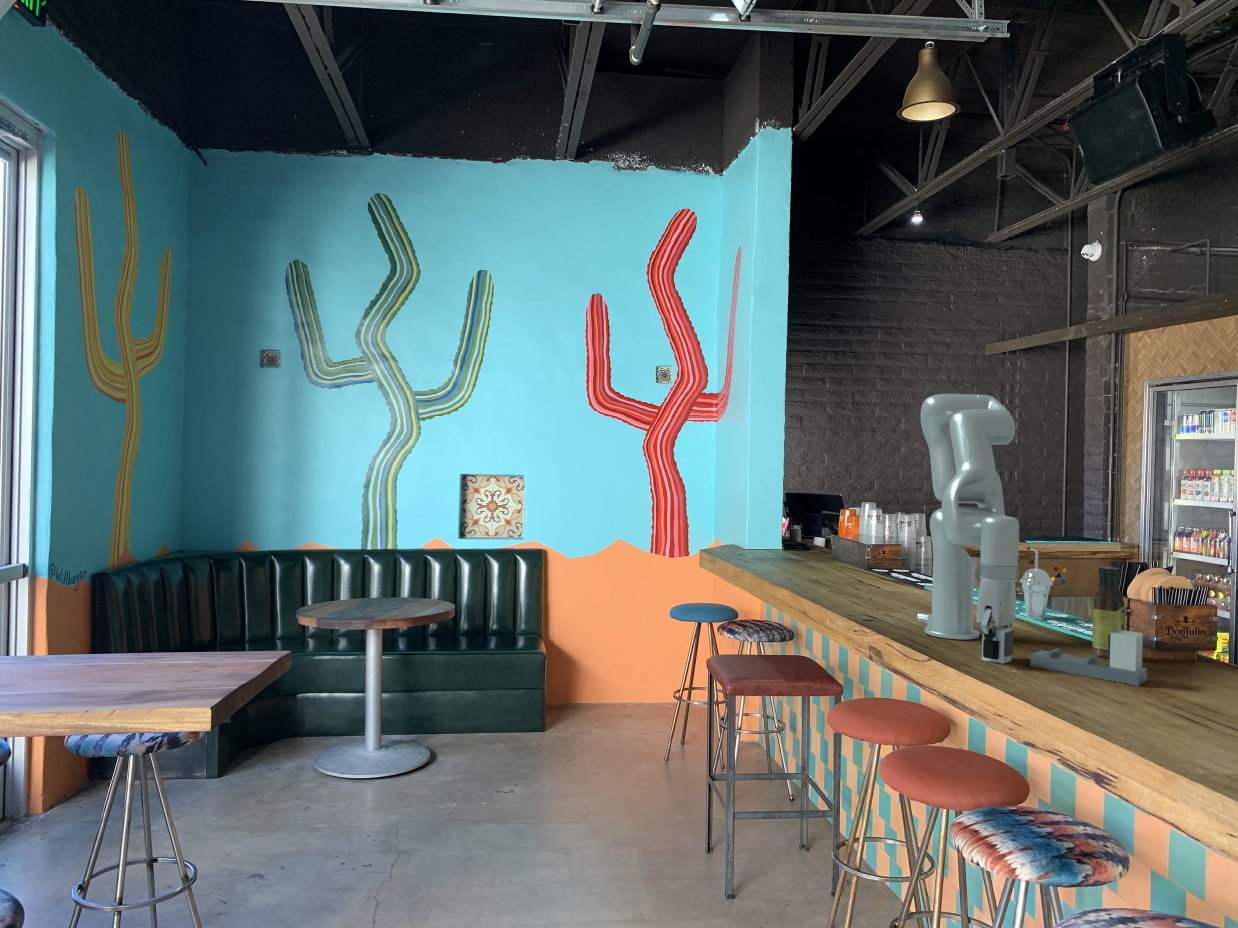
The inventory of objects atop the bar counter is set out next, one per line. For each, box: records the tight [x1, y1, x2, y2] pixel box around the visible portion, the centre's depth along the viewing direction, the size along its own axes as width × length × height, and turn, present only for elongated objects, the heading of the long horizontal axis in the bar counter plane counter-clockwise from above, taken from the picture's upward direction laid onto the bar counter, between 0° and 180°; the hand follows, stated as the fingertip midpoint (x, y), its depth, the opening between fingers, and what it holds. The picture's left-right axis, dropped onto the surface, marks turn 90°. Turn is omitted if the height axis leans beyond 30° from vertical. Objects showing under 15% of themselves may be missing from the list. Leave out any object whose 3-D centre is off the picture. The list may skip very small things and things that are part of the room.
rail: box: [1029, 630, 1148, 687], centre depth 172 cm, size 20×6×10 cm, turn 44°
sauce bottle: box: [1092, 566, 1126, 659], centre depth 188 cm, size 7×6×20 cm
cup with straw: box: [1018, 547, 1054, 621], centre depth 232 cm, size 8×9×20 cm
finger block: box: [981, 627, 1015, 665], centre depth 182 cm, size 5×4×7 cm
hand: (996, 655), depth 182 cm, fingers open, 5 cm apart
